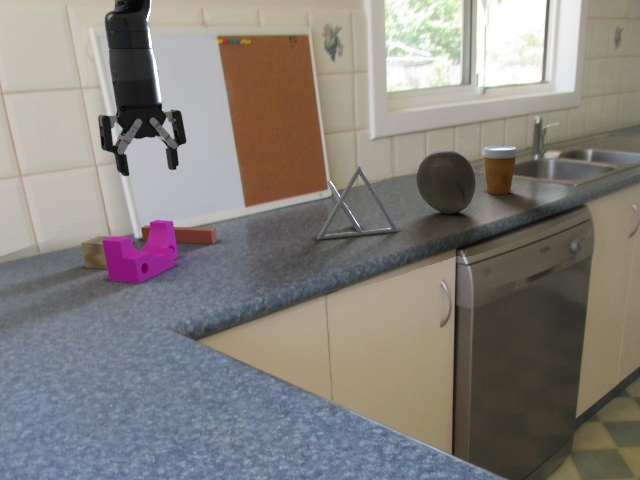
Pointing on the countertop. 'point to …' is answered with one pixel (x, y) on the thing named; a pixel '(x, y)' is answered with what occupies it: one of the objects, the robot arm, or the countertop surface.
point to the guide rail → (188, 234)
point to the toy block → (141, 254)
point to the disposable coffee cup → (499, 168)
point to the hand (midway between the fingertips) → (149, 172)
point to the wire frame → (349, 214)
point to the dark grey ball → (446, 181)
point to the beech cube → (94, 252)
